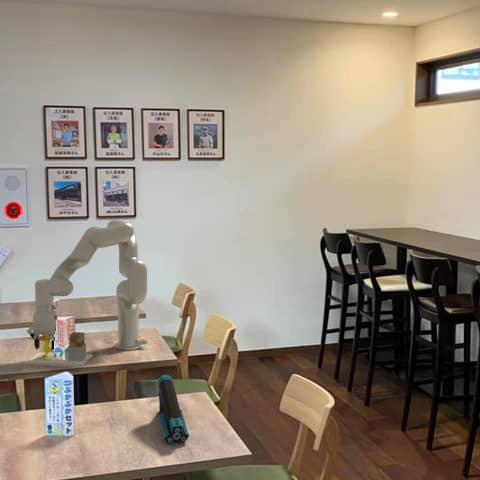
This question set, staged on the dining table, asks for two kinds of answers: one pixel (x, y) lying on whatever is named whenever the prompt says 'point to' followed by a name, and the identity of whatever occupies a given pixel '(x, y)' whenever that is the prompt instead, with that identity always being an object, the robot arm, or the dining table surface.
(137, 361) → the dining table surface
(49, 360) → the build plate
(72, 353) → the pedestal
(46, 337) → the toy figure
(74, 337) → the walnut cube
